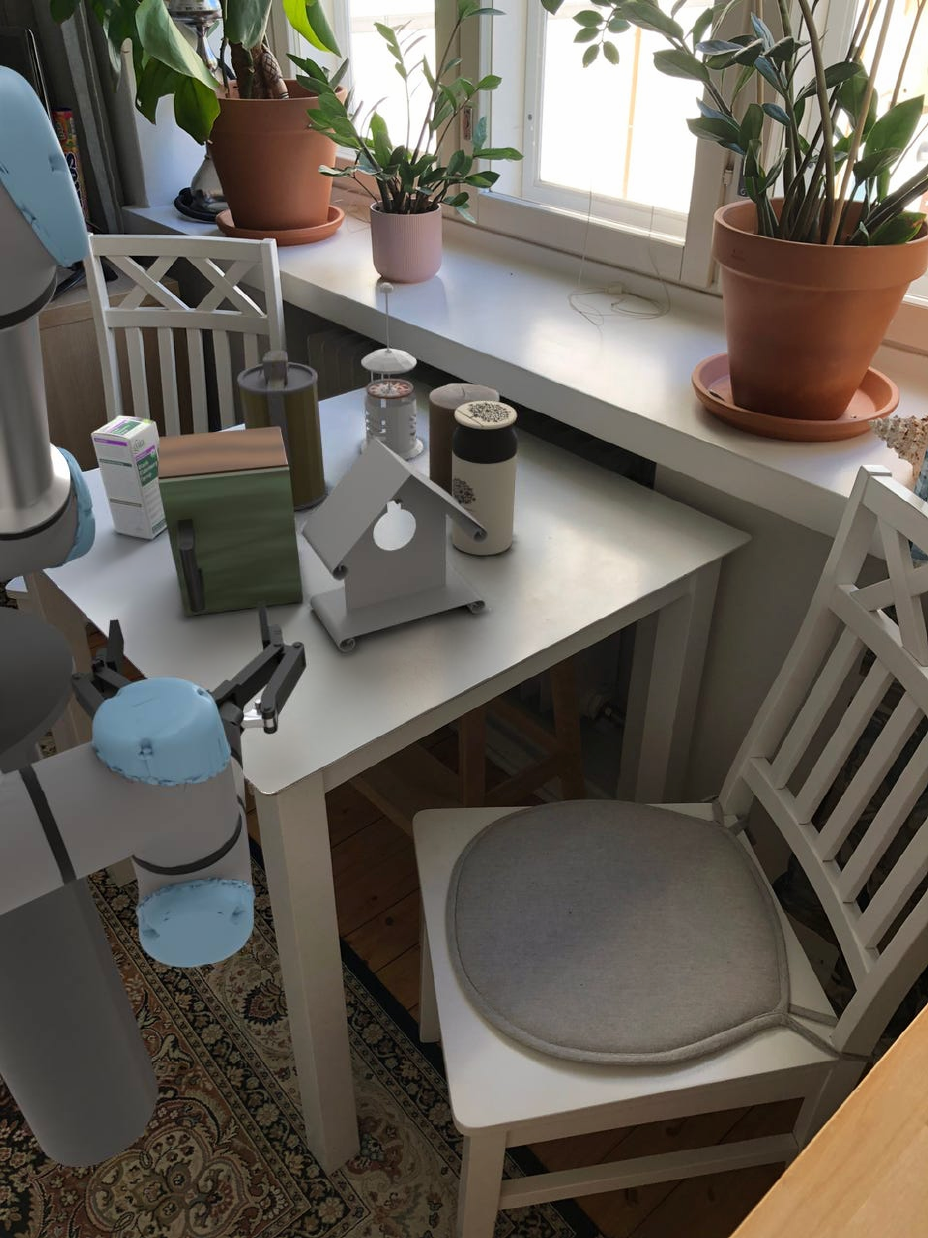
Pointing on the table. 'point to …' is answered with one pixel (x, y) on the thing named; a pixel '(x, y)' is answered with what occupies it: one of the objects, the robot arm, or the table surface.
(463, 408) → the travel mug
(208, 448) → the compartment
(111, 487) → the syrup box
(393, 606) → the grey house-shaped piece
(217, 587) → the door
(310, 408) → the canister
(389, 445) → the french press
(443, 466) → the pillar candle
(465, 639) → the table surface
